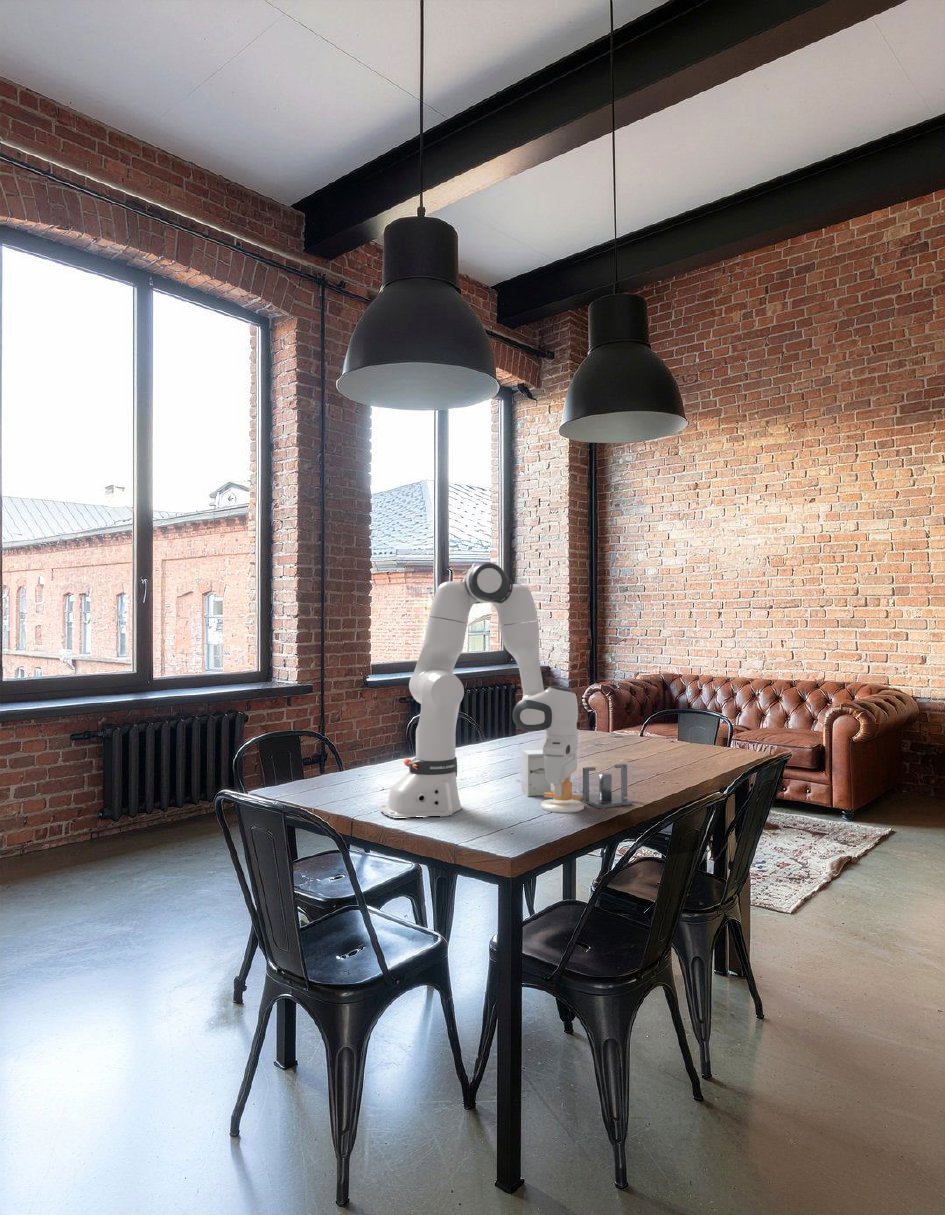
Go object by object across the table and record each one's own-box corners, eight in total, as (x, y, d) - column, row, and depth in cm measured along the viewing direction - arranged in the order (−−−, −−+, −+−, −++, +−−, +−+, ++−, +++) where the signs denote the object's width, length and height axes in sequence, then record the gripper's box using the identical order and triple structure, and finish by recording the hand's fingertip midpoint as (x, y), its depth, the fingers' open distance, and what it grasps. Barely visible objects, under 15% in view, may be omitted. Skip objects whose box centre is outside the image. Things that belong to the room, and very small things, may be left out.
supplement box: (527, 797, 232) (527, 754, 232) (521, 791, 239) (520, 749, 239) (551, 795, 233) (551, 753, 233) (544, 790, 240) (544, 749, 241)
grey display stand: (594, 809, 217) (594, 771, 217) (574, 800, 227) (574, 764, 227) (637, 804, 222) (636, 767, 222) (615, 796, 232) (615, 760, 232)
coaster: (554, 814, 211) (554, 811, 211) (533, 804, 222) (533, 801, 222) (592, 810, 216) (592, 806, 216) (570, 800, 227) (570, 797, 227)
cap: (542, 798, 219) (542, 783, 219) (547, 794, 224) (547, 779, 224) (578, 802, 215) (578, 786, 215) (583, 797, 220) (582, 782, 220)
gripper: (561, 737, 230) (561, 784, 230) (540, 749, 211) (540, 800, 211) (582, 739, 228) (582, 786, 228) (563, 750, 209) (563, 802, 209)
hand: (562, 793), depth 219 cm, fingers closed on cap, 5 cm apart
